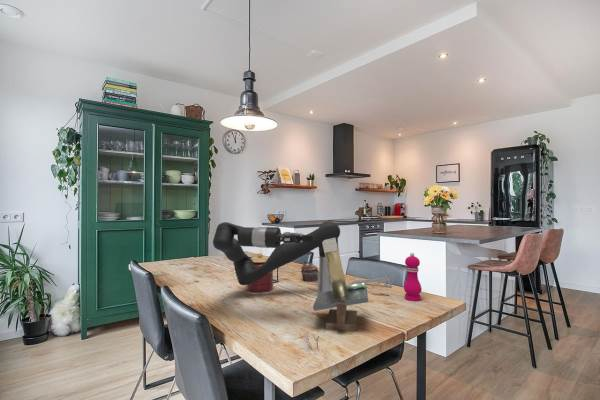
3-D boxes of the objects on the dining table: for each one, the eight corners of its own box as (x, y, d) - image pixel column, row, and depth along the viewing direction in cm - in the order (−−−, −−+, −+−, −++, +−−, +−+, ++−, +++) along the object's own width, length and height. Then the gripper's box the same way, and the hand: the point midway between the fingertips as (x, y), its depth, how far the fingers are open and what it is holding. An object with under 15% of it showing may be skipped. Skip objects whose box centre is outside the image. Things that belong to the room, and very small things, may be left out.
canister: (278, 287, 155) (278, 252, 155) (262, 294, 144) (262, 255, 144) (257, 284, 162) (257, 250, 162) (241, 290, 151) (240, 253, 151)
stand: (324, 332, 100) (324, 302, 100) (330, 311, 120) (330, 287, 120) (356, 334, 98) (356, 304, 99) (356, 313, 118) (356, 288, 118)
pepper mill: (401, 296, 139) (400, 251, 139) (417, 296, 139) (416, 251, 139) (408, 301, 131) (407, 254, 132) (424, 301, 132) (424, 253, 132)
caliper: (391, 288, 154) (391, 275, 154) (390, 288, 153) (390, 275, 153) (352, 282, 165) (352, 270, 165) (351, 283, 164) (351, 271, 164)
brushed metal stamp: (313, 310, 103) (300, 247, 104) (319, 296, 119) (307, 242, 120) (368, 302, 100) (353, 237, 101) (367, 288, 115) (354, 232, 116)
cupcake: (307, 283, 163) (307, 264, 164) (298, 279, 172) (298, 261, 172) (322, 280, 169) (322, 262, 169) (312, 277, 177) (312, 259, 177)
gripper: (271, 245, 121) (316, 246, 117) (261, 250, 108) (310, 251, 104) (271, 225, 121) (316, 226, 118) (261, 228, 108) (310, 229, 105)
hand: (313, 238), depth 111 cm, fingers closed
